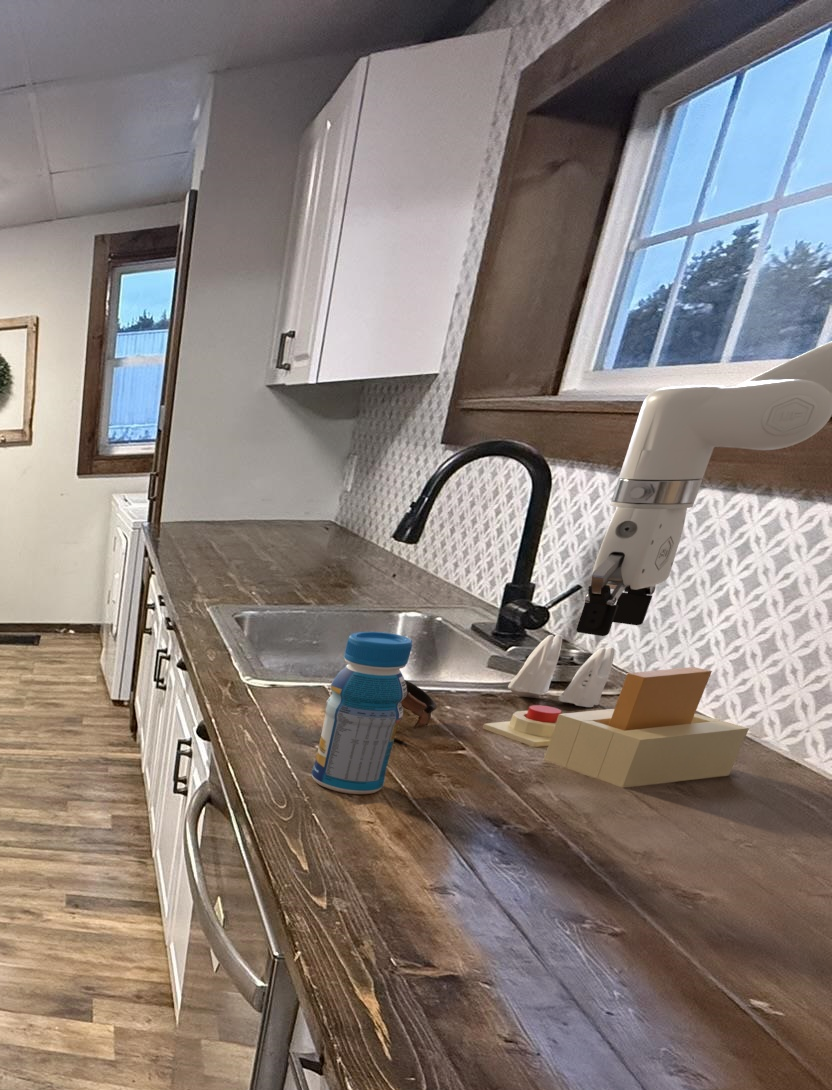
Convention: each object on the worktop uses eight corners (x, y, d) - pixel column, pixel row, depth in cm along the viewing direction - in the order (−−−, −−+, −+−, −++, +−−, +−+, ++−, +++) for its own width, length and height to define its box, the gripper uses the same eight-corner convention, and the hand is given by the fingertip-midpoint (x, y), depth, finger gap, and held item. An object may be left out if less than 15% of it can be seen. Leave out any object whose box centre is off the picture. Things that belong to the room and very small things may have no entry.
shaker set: (504, 698, 139) (524, 634, 135) (504, 692, 142) (523, 629, 138) (599, 710, 132) (623, 643, 128) (597, 703, 135) (621, 637, 131)
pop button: (540, 715, 121) (543, 704, 120) (564, 723, 118) (568, 711, 117) (519, 717, 120) (522, 706, 120) (543, 725, 117) (546, 714, 117)
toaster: (639, 757, 114) (659, 703, 111) (727, 787, 105) (752, 728, 102) (537, 768, 112) (555, 713, 109) (618, 800, 103) (641, 740, 100)
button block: (537, 731, 125) (545, 706, 123) (591, 750, 118) (600, 723, 116) (479, 737, 123) (487, 712, 122) (530, 756, 116) (539, 730, 115)
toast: (656, 760, 110) (693, 666, 105) (673, 766, 108) (712, 671, 103) (592, 768, 108) (627, 673, 103) (608, 773, 106) (644, 677, 101)
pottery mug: (367, 712, 136) (408, 674, 131) (410, 752, 131) (455, 715, 125) (325, 706, 131) (367, 667, 126) (368, 748, 125) (413, 709, 120)
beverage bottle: (343, 800, 106) (380, 648, 98) (294, 775, 113) (325, 632, 105) (399, 792, 107) (439, 642, 99) (347, 768, 115) (381, 627, 107)
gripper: (663, 500, 96) (614, 644, 103) (724, 490, 103) (674, 624, 110) (583, 497, 102) (542, 633, 109) (646, 488, 110) (603, 615, 116)
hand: (609, 628), depth 109 cm, fingers open, 9 cm apart
